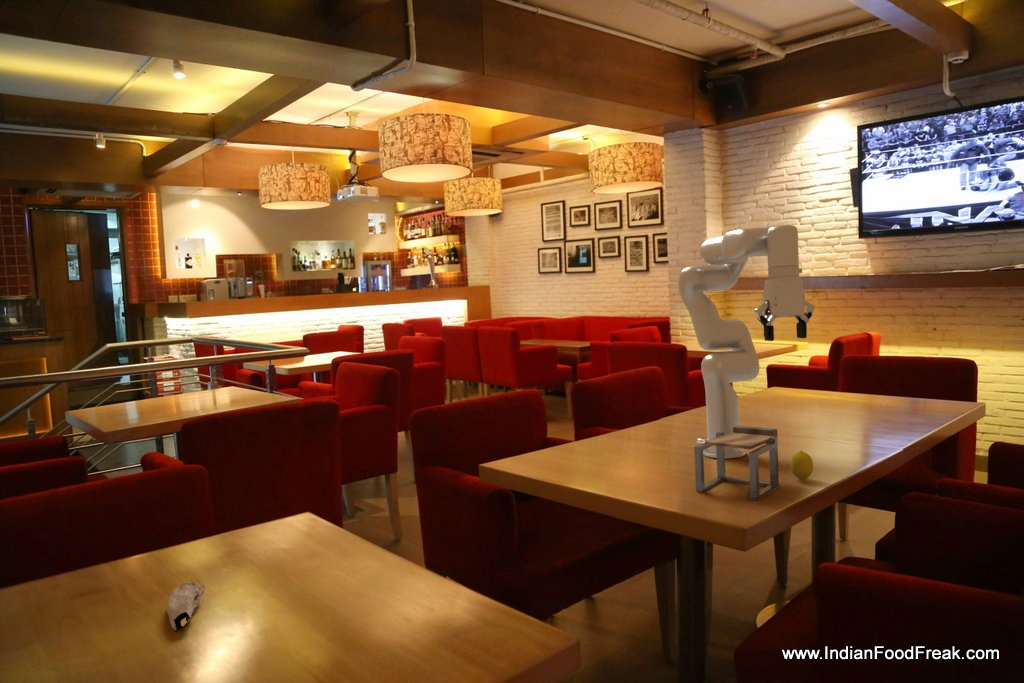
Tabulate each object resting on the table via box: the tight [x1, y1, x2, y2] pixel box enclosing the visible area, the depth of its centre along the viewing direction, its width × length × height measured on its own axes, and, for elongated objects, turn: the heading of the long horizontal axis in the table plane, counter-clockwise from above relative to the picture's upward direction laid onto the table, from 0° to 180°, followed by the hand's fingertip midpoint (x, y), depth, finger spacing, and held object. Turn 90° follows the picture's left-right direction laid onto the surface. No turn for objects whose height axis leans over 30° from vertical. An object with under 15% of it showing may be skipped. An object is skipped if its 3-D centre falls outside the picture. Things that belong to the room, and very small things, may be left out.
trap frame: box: [694, 432, 780, 501], centre depth 186 cm, size 16×14×13 cm
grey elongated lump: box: [166, 581, 206, 629], centre depth 128 cm, size 14×6×5 cm, turn 17°
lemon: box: [790, 450, 814, 482], centre depth 190 cm, size 6×6×8 cm
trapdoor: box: [705, 425, 779, 450], centre depth 188 cm, size 12×19×4 cm, turn 139°
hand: (785, 339), depth 189 cm, fingers open, 9 cm apart
